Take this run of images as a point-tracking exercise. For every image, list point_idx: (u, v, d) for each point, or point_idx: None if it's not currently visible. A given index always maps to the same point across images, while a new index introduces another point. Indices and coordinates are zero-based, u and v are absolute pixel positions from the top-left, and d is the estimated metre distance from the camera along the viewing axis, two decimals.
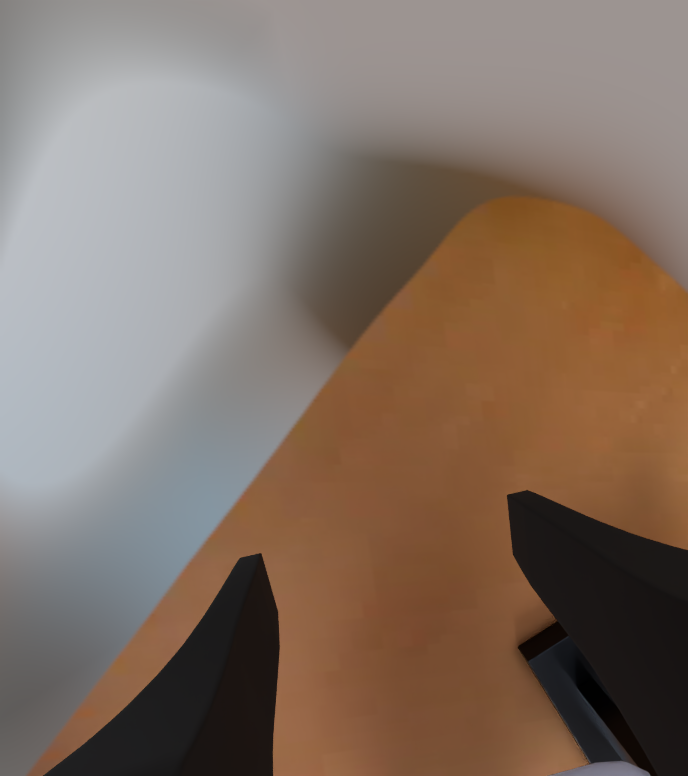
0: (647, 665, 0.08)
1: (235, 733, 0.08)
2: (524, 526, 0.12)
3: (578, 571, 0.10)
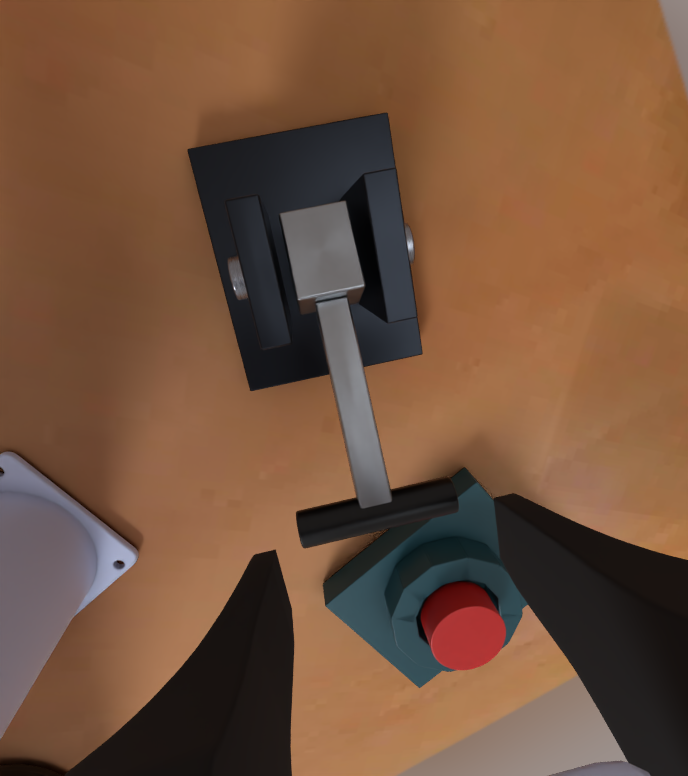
0: (626, 670, 0.08)
1: (258, 727, 0.08)
2: (510, 529, 0.12)
3: (561, 575, 0.10)
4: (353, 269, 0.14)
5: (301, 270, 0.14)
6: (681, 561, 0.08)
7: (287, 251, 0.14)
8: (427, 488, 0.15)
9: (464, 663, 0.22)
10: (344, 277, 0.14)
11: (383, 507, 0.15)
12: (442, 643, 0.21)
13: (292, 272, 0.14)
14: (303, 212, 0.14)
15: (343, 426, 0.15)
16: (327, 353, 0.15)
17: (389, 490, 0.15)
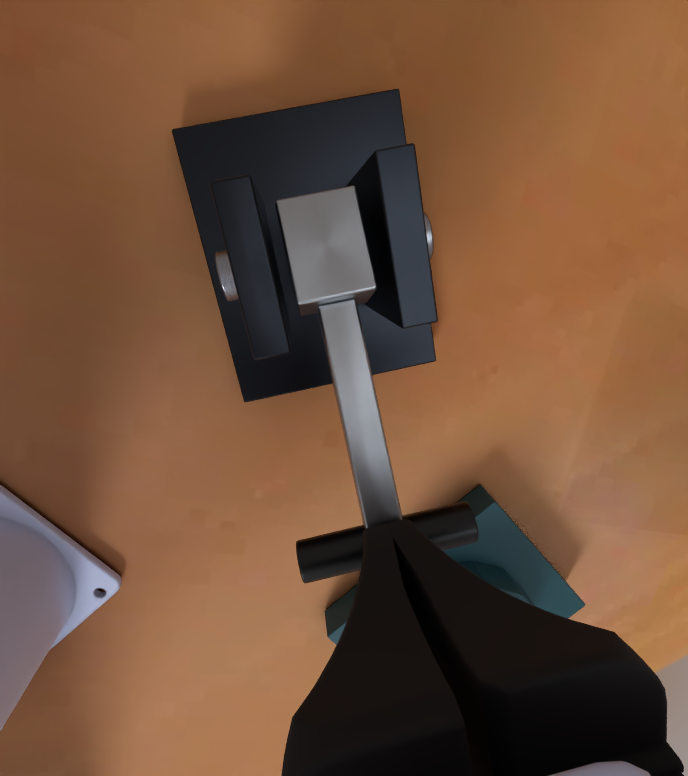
0: (461, 714, 0.08)
1: None
2: None
3: (424, 609, 0.10)
4: (362, 268, 0.12)
5: (301, 268, 0.12)
6: (517, 602, 0.08)
7: (285, 246, 0.12)
8: (443, 516, 0.13)
9: None
10: (352, 277, 0.12)
11: None
12: None
13: (291, 271, 0.12)
14: (304, 199, 0.12)
15: (350, 448, 0.13)
16: (332, 365, 0.13)
17: (401, 519, 0.13)
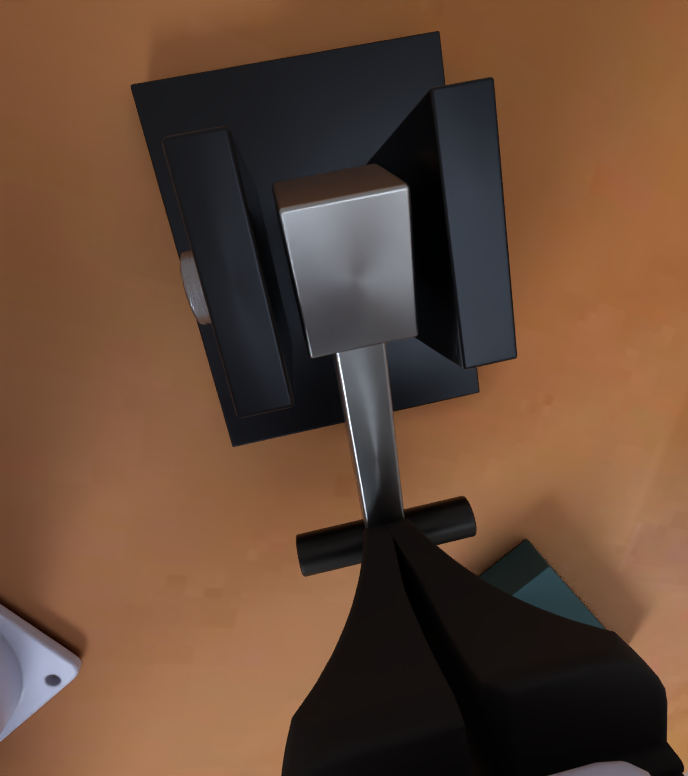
0: (462, 714, 0.08)
1: None
2: None
3: (424, 609, 0.10)
4: (403, 311, 0.09)
5: (317, 314, 0.08)
6: (517, 602, 0.08)
7: (294, 283, 0.08)
8: (445, 521, 0.13)
9: None
10: (387, 324, 0.09)
11: None
12: None
13: (302, 318, 0.08)
14: (326, 209, 0.07)
15: (359, 479, 0.12)
16: (346, 403, 0.10)
17: None
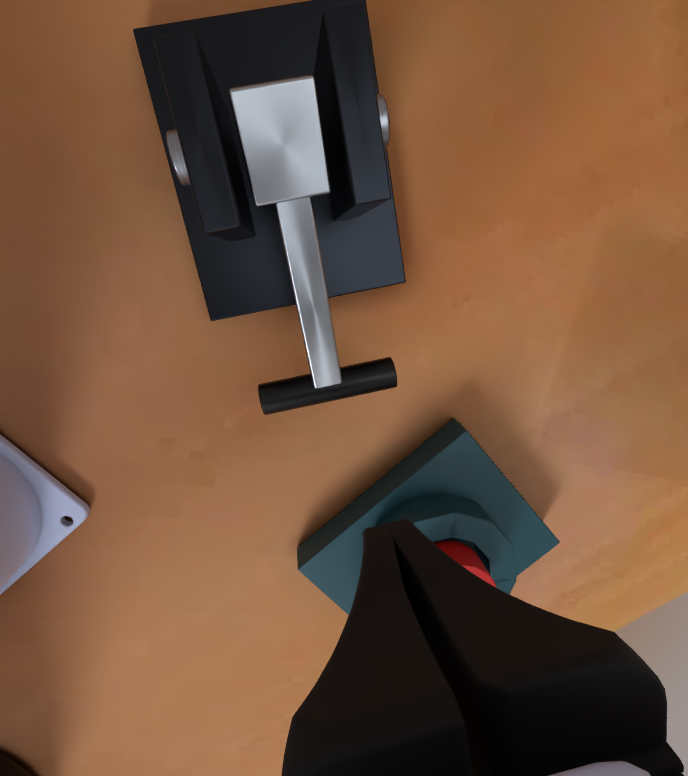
0: (461, 714, 0.08)
1: None
2: None
3: (424, 609, 0.10)
4: (318, 172, 0.13)
5: (258, 170, 0.12)
6: (517, 602, 0.08)
7: (241, 145, 0.12)
8: (372, 371, 0.18)
9: None
10: (308, 181, 0.13)
11: (333, 387, 0.17)
12: None
13: (248, 173, 0.12)
14: (259, 91, 0.12)
15: (301, 324, 0.16)
16: (287, 255, 0.15)
17: (340, 374, 0.17)
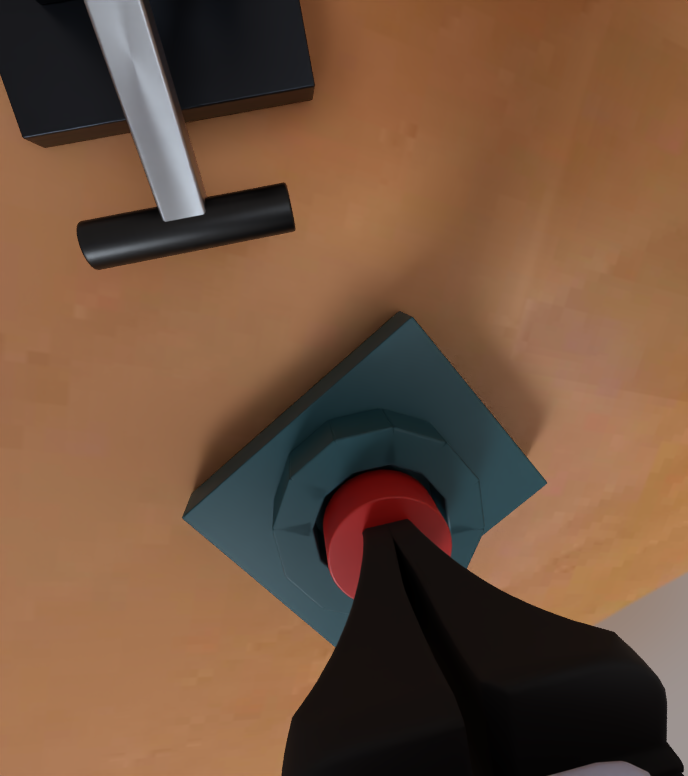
0: (461, 714, 0.08)
1: None
2: None
3: (424, 609, 0.10)
4: None
5: None
6: (517, 602, 0.08)
7: None
8: (253, 198, 0.12)
9: None
10: None
11: (193, 220, 0.11)
12: (346, 559, 0.13)
13: None
14: None
15: (118, 92, 0.10)
16: None
17: (200, 198, 0.11)
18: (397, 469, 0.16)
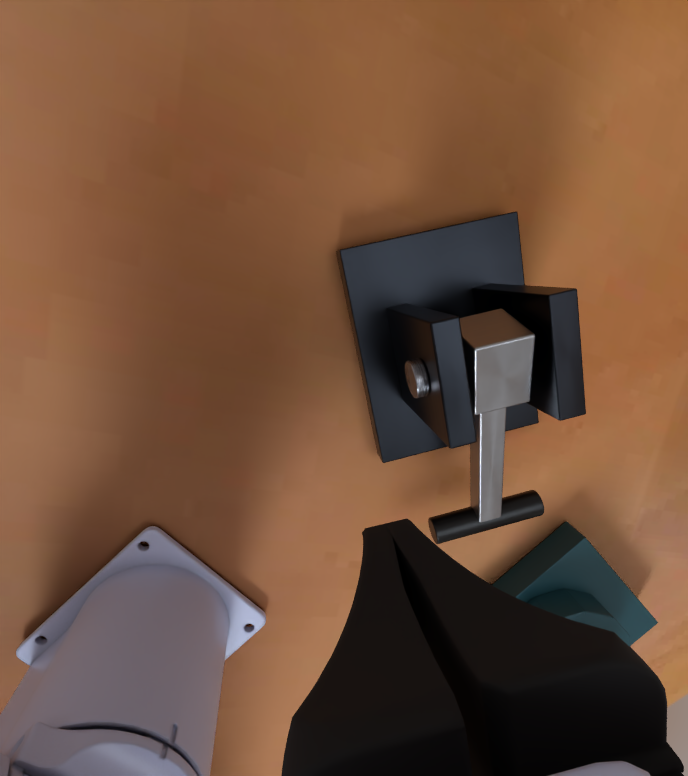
0: (461, 714, 0.08)
1: None
2: None
3: (424, 609, 0.10)
4: (524, 390, 0.17)
5: (483, 393, 0.16)
6: (517, 602, 0.08)
7: (475, 380, 0.16)
8: (524, 505, 0.21)
9: None
10: (515, 396, 0.17)
11: (494, 520, 0.21)
12: None
13: (475, 396, 0.16)
14: (496, 347, 0.15)
15: (480, 480, 0.20)
16: (480, 436, 0.18)
17: (500, 511, 0.21)
18: None
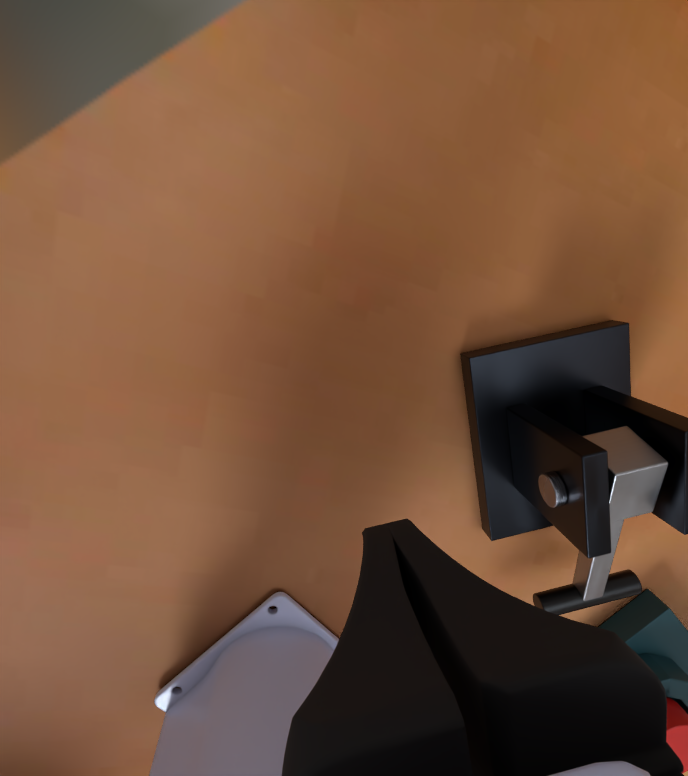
0: (461, 714, 0.08)
1: None
2: None
3: (424, 609, 0.10)
4: (650, 504, 0.19)
5: (614, 508, 0.18)
6: (517, 602, 0.08)
7: (610, 498, 0.18)
8: (624, 586, 0.23)
9: None
10: (641, 508, 0.19)
11: (596, 599, 0.23)
12: None
13: None
14: (634, 473, 0.18)
15: (591, 568, 0.22)
16: None
17: (603, 591, 0.23)
18: None
